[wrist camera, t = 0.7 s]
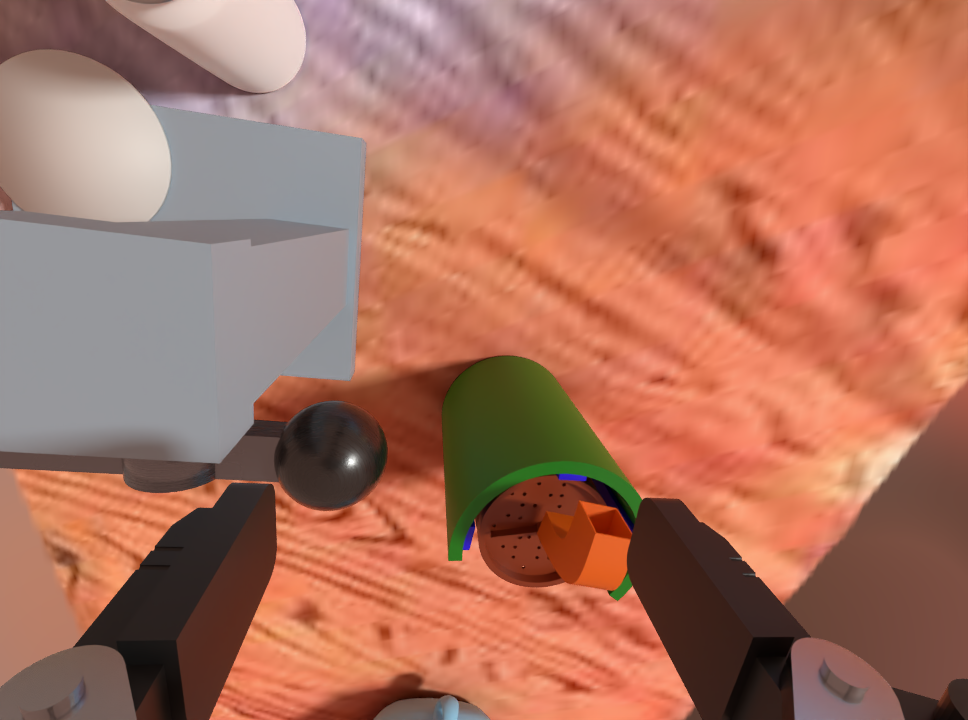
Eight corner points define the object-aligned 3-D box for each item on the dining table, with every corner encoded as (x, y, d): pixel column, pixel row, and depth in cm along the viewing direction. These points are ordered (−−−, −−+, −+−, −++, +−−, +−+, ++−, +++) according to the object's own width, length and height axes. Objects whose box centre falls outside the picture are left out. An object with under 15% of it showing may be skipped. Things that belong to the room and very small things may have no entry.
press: (-2, 47, 26) (-1756, -629, 5) (368, 109, 29) (206, -161, 8) (43, 345, 32) (-747, 610, 10) (354, 371, 35) (233, 620, 13)
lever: (-167, 343, 18) (-355, 384, 14) (395, 389, 21) (386, 434, 17) (-137, 446, 19) (-300, 513, 15) (388, 475, 22) (378, 537, 18)
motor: (437, 453, 38) (444, 696, 19) (448, 349, 35) (469, 509, 16) (556, 460, 39) (674, 692, 20) (575, 361, 36) (731, 519, 17)
